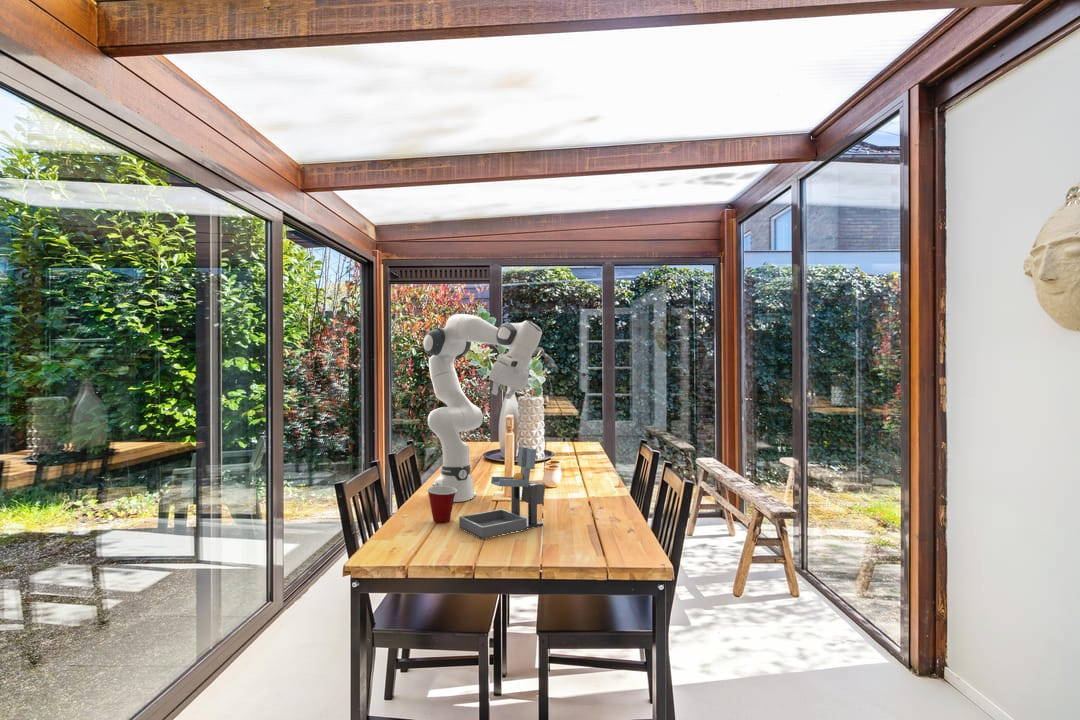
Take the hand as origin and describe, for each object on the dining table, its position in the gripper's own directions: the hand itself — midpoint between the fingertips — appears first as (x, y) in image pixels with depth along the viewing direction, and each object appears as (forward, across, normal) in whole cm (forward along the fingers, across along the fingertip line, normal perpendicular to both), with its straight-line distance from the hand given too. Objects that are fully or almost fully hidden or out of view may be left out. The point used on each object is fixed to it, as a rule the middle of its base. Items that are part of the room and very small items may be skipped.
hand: (500, 396), depth 220 cm
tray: (+41, +4, +24) cm, 48 cm away
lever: (+31, -3, +24) cm, 39 cm away
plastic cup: (+50, +5, +4) cm, 50 cm away
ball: (+23, -1, +21) cm, 31 cm away
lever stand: (+37, -7, +28) cm, 47 cm away
